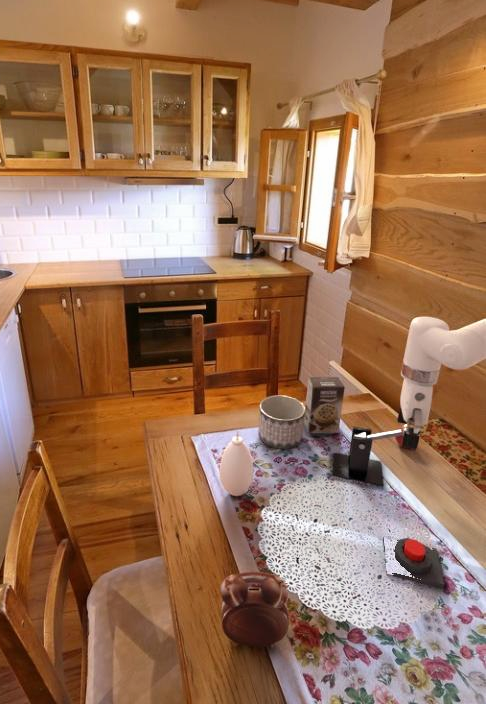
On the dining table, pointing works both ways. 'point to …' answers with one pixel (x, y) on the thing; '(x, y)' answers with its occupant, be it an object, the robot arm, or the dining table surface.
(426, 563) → the button box
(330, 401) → the cookie box
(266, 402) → the planter
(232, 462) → the pale pink tall ovoid
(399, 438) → the onion
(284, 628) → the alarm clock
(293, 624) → the dining table surface
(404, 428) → the switch lever
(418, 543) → the red button
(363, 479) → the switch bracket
